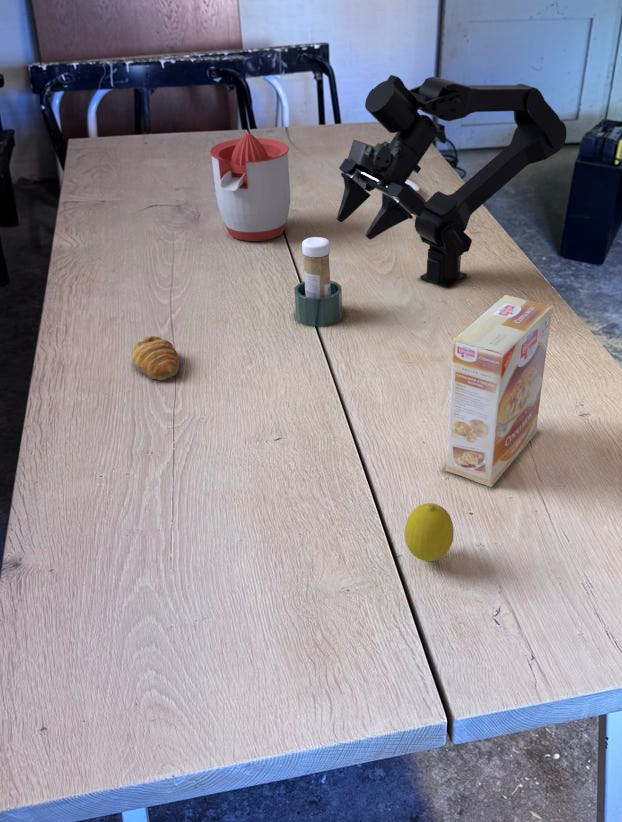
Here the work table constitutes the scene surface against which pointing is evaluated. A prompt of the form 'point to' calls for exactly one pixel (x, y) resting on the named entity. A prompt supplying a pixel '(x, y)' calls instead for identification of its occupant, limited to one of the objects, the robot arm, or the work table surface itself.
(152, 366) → the pastry
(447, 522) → the lemon
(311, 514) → the work table surface
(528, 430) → the coffeecake box
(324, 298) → the cup
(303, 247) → the sprinkles bottle
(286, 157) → the citrus juicer
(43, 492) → the work table surface
